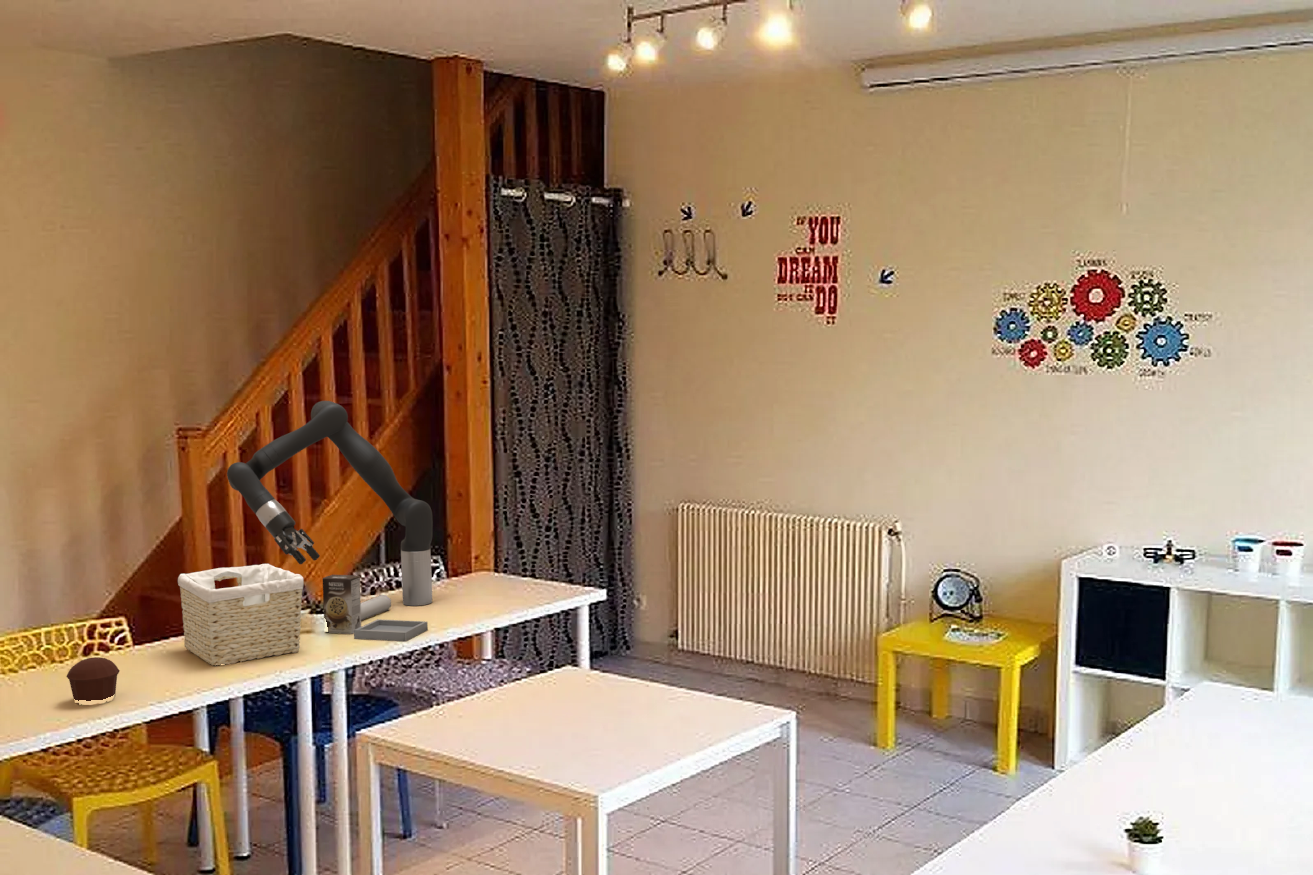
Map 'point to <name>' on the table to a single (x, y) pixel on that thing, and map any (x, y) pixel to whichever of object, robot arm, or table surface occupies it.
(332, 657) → the table surface
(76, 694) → the muffin
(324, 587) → the coffee box
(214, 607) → the basket
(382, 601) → the tube
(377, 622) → the dish
